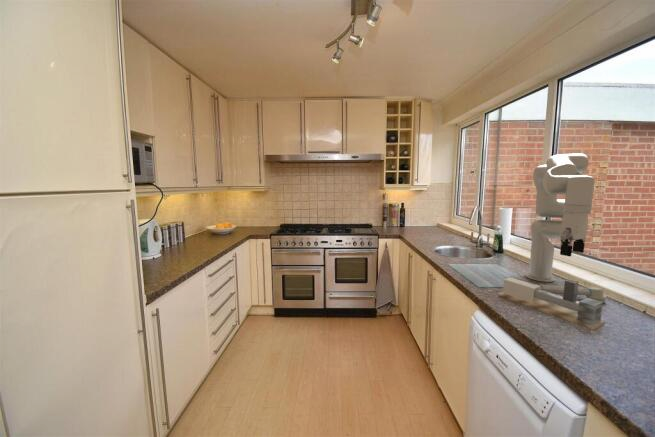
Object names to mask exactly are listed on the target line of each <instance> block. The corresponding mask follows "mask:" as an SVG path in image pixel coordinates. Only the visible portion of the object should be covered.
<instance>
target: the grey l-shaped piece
mask: <svg viewBox="0 0 655 437" xmlns="http://www.w3.org/2000/svg"><path fill="white" fill-rule="evenodd" d="M579 284H580V283H579V281H577V280H572V279H565V280H564V285H563V286H564V293H563V294H562V295H560V294H553V293H550V292H546V291H543V290H540V289H536V290H535V292H534V297H535V298H538V299H540V300H543V301H546V302H549V303H552V304H555V305H558V306H561V307H564V308H567V309H570V310H573V311H576V312H578V307H579V300H578V295H577V292H578V288H579Z"/></svg>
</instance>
